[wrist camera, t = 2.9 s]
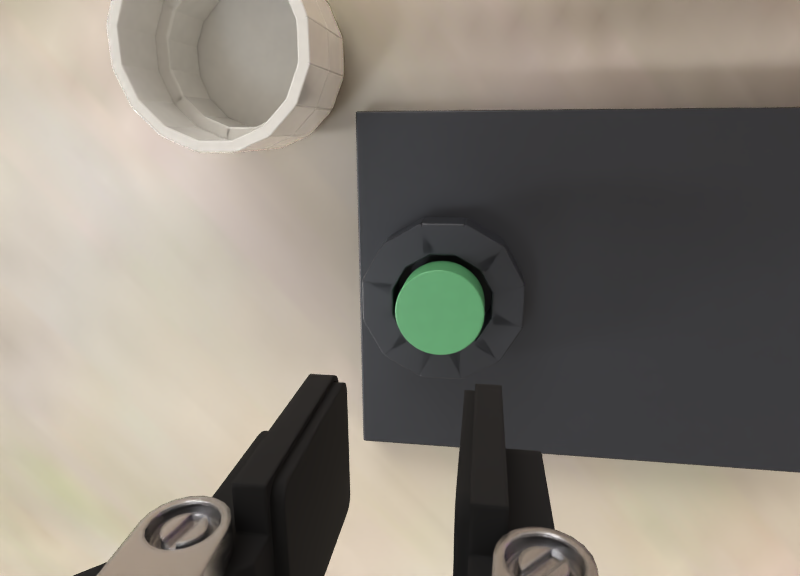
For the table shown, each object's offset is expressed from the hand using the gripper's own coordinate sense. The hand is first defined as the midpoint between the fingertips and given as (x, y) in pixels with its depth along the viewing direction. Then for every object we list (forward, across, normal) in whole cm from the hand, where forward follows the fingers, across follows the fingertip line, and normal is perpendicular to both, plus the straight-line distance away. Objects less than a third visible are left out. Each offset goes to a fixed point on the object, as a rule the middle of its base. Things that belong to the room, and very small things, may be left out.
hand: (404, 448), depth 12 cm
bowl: (+13, +8, -9) cm, 18 cm away
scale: (+13, -6, 0) cm, 14 cm away
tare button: (+11, 0, 0) cm, 11 cm away
